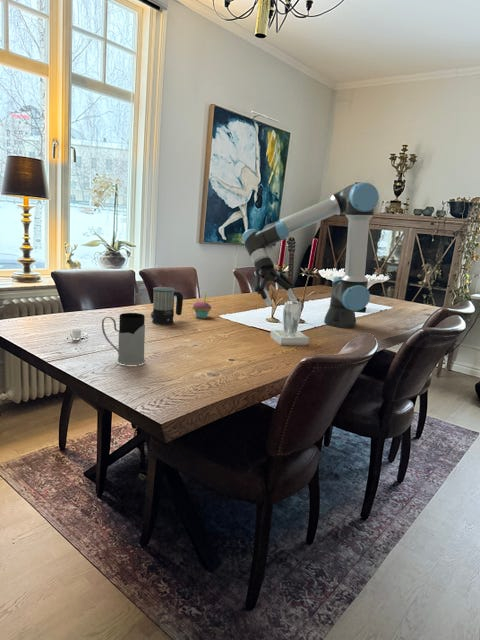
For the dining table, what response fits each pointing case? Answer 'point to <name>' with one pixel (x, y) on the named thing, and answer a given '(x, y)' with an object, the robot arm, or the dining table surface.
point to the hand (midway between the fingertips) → (282, 304)
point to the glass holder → (130, 338)
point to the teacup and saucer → (77, 334)
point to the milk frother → (165, 305)
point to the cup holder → (289, 338)
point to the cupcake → (202, 308)
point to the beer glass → (291, 318)
